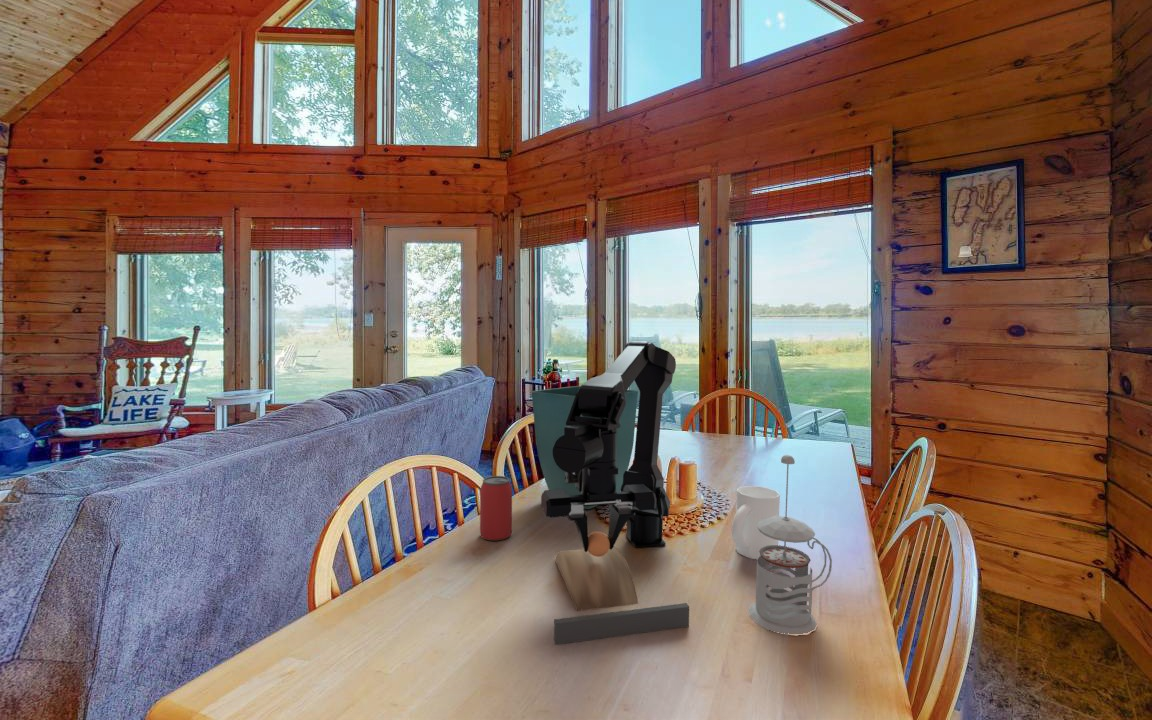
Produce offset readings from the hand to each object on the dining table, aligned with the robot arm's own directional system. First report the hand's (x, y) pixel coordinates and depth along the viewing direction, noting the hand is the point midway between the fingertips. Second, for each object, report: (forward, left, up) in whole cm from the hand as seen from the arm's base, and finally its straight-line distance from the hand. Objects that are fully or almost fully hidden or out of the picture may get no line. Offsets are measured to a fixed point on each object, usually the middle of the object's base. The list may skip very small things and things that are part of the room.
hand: (597, 549), depth 84 cm
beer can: (+15, -25, -7) cm, 30 cm away
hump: (0, -2, -24) cm, 24 cm away
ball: (0, 0, +1) cm, 1 cm away
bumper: (0, +14, -6) cm, 15 cm away
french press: (-26, +15, -7) cm, 31 cm away
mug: (-33, -6, -7) cm, 34 cm away
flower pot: (-9, -44, -7) cm, 45 cm away
